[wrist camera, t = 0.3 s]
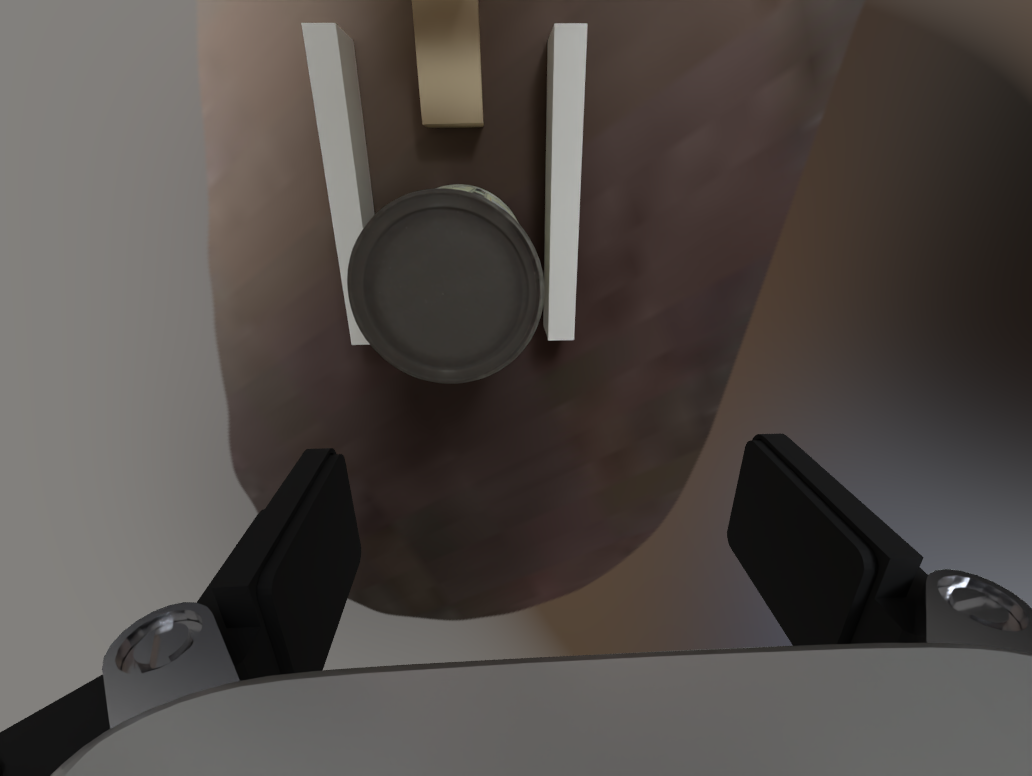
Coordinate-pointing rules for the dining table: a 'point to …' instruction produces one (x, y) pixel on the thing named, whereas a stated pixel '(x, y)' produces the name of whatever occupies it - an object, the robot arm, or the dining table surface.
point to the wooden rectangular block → (448, 62)
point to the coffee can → (446, 284)
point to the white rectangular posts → (351, 174)
